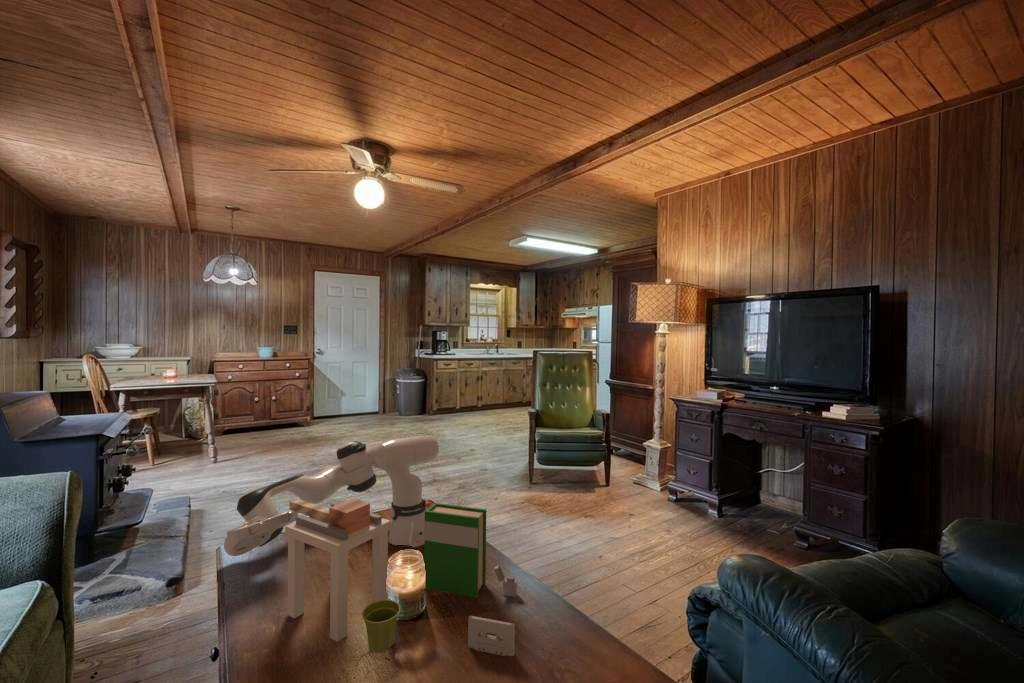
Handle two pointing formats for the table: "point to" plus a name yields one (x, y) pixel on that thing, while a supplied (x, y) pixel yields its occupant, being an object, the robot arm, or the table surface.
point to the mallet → (337, 513)
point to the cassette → (491, 636)
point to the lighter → (507, 583)
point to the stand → (335, 563)
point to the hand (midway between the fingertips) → (278, 518)
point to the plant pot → (381, 624)
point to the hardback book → (455, 549)
